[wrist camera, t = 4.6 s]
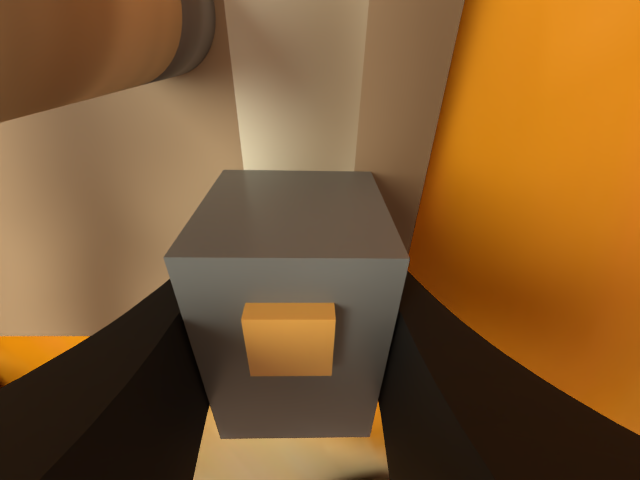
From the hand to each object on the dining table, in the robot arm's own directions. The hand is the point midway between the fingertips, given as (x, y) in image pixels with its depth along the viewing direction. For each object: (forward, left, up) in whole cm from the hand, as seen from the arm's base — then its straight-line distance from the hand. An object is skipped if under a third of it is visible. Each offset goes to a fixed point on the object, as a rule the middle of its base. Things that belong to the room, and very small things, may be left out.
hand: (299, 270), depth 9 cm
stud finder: (0, 0, -1) cm, 1 cm away
